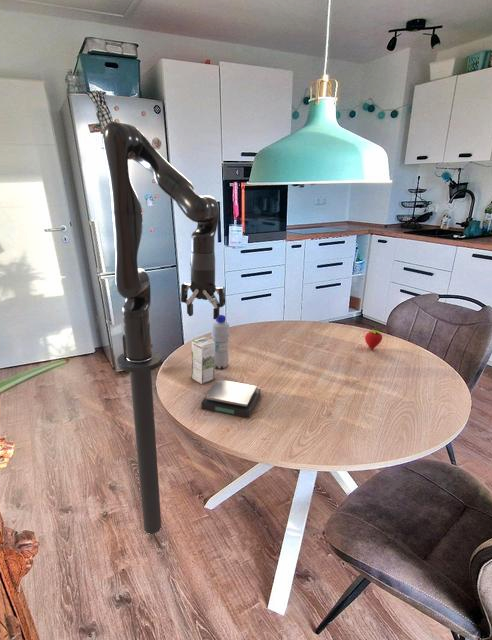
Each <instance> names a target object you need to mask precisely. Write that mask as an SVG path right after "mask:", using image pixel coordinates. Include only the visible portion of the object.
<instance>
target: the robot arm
mask: <svg viewBox="0 0 492 640" xmlns="http://www.w3.org/2000/svg"><path fill="white" fill-rule="evenodd" d="M102 147H103V153H104V159H105V165H106V169H107V170H106V171H107V176H108V185H109V193H110V202H111V203H110V204H111V218H112V220H111V221H112V227H113V239H114V240H113V241H114V251H115V269H114V270H115V274H114V277H115V279H114V280H115V281H114V282H115V288H116V291H117V292H118V294H119V295H120V297H122V298H124V299H125V301H124V304H123V305H122V307H121V314H122V323H123V334H122V336H121V338H122V339H121V340H122V350H123V353H124V360H127V361H128V362H131V363H145V362H148V361H150V360H151V359H152V351H153V344H152V334H151V331H152V330H151V317H150V308H151V304H152V299H151V297H152V295H151V294H152V293H151V292H152V291H151V289H152V288H151V281H150V280H151V279H150V276H149V274H148V273H147V271H146V270H145V269H143V268H141V267H139V265H138V264H139V263H138V255H139V248H140V245H141V241H142V236H143V230H144V224H143V223H144V222H143V221H144V220H143V207H142V203H141V200H140V199H139V196H138V194H137V192H136V190H135V189H134V186H133V184H132V181H131V180H132V179H131V177H130V171H129V161H130V160H132V161H134V162H136V163H138V164H139V165H141V166H142V167H144V168H145V169H146V170H147V171H148V172H149V173H150V175H151V177H152V178H153V180H154V182H155V183H156V185H157V186H158V187H159V189H160V190H161V191H163V193H165V194H166V195H167V196H168V197H169V198H170V199H172V200H173V201H174V202H175V203H176V204H177V205H178V207H179V209H180V210H181V211H182V213H183V214H184V215H185V217H186V218H188V220H190V221H192V222H193V223H197V226H196V229H195V230H194V231H193V232H192V233H191V236H190V250H191V251H190V263H189V266H190V283H188V282H184V283H182V284H181V287H180V302H181V303H184V304H186V314H187V315H188V317H192V316H194V303H193V302H194V301H195V300H196V299H197V300H204V301H208V302H209V303H210V304H211V305H212V307H213V315H212V316H213V320H216V319H217V318H218V317H219V315H220V308H223V307H224V306H225V305H226V288H225V286H221V287H218V286H216V254H215V245H216V241H215V240H216V239H215V238H216V233H217V229H218V224H219V220H220V208H219V203H218V201H217V199H216V198H215V197H213V196H211V195H199V194H198V193H196V192H195V189H194V185H193V184H192V182H191V181H190V180H189V179H187V177H185V176H184V175H183V174H182V173H181V172H179V170H177V169H176V168H175V167H174V166H173V165H171V164H170V163H169V162H168V161H167V160H166V159H165V158H164V157H163V156H162V155H161V154H160V152H158V150H157V149H156V148H155V147H154V146H153V145H152V143H151V142H150V141H149V140H148V138H147V137H146V136H145V135H144V133H142V132H141V130H140V129H138V127H136V126H135V125H132V124H128V123H123V122H118V121H109V122H107V123H106V124H105V126H104V128H103V131H102ZM189 290H190V292H192V294H191V295H190V296H189V295H188V293H189ZM215 293H216V294H217V295H218V297H217V296H216V295H215ZM188 296H189V297H188Z"/></svg>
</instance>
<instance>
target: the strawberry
mask: <svg viewBox="0 0 492 640" xmlns="http://www.w3.org/2000/svg"><path fill="white" fill-rule="evenodd" d="M374 327H375V329H376V330H375V329H372V330H368V332H366V333H365V336H364V340H365V343H366V345H367V346H368V347H369V349H370V350H375V348H376V347H378V345H379V344H381V342H382V340H383V335H382V333H381V331H379V330H377V327H376V326H374Z"/></svg>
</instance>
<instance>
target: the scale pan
mask: <svg viewBox="0 0 492 640" xmlns="http://www.w3.org/2000/svg"><path fill="white" fill-rule="evenodd" d="M216 382H217V383H216ZM216 382H215V384H213V386H214V387H213V386H212V387H213V388H212V387H211V389H210V390H209V391H210V392H209V391H208V393H207V394H206V395H207V396H206V395H205V397H206V399H208V400H214V401H219V402H224V403H229V404H235V405H240V406H245V407H247V406H248V404H249V402H250V400H251V398H252V397H253V395H254V393H255V391H256V389H258V386H257V385H253V384H248V383H242V382H238V381H237V382H236V381H231V380H225V379H218V380H217V381H216Z"/></svg>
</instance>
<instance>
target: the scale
mask: <svg viewBox="0 0 492 640" xmlns="http://www.w3.org/2000/svg"><path fill="white" fill-rule="evenodd" d="M216 383H217V381H216V382H215V384H216ZM213 387H214V385H213V386H212V387H211V389H212V388H213ZM209 392H210V390H209V391H208V393H209ZM261 392H262V391H261V388H257V389H256V391H255V393H254V395H253V397H252V398H251V400H250V402H249V404H248V406H247V407H245V406H240V405H235V404H229V403H224V402H219V401H214V400H208V399H206V396H207V394H206V395H205V397H204V398H203V399H202V400H201V405H200V406H201V407H200V408H201V410H205V411H210V412H216V413H220V414H221V413H222V414H225V415H229V416H230V415H231V416H236V417H240V418H246V419H249V418H250V417H251V415H252V413H253V411H254V409H255V407H256V405H257V403H258V401H259V399H260V398H261Z"/></svg>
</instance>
